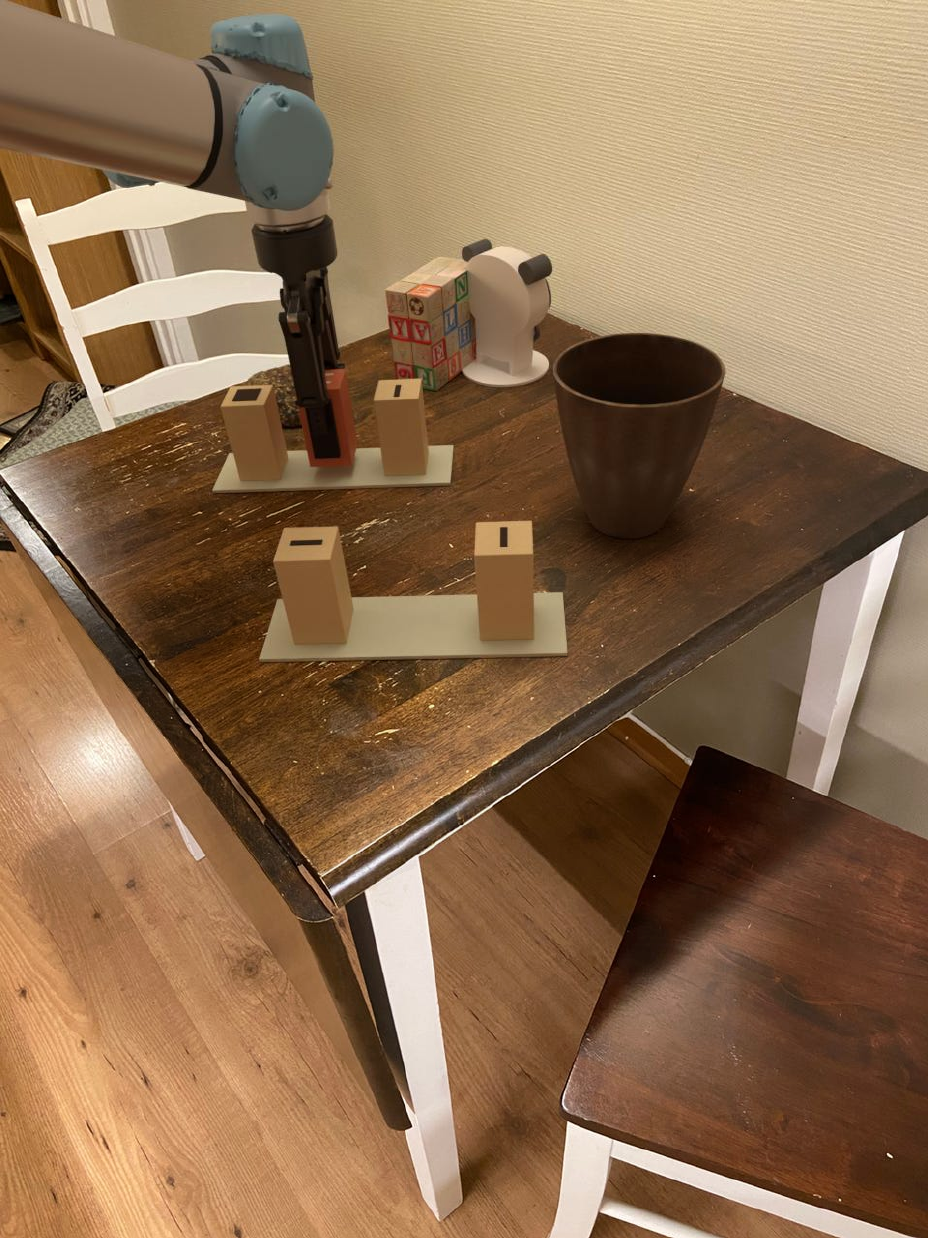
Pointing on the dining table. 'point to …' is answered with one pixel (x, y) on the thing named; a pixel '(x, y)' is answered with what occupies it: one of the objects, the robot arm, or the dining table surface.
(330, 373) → the equals sign block
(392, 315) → the stack of blocks
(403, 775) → the dining table surface
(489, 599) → the front word
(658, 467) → the flower pot
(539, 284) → the panda figurine
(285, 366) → the bread roll
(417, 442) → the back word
